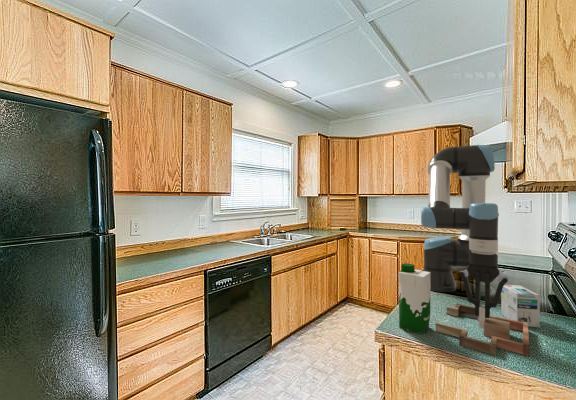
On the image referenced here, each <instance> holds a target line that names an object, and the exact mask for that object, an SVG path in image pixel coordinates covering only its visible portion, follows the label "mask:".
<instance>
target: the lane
mask: <svg viewBox="0 0 576 400" xmlns="http://www.w3.org/2000/svg"><path fill="white" fill-rule="evenodd" d="M454 307H455V306H454ZM454 307H453V306H449V305H447V306H446V315H449V316H454V317H458V308H454ZM489 318H493V319H497V320H502V321H506V322H510V330H511V329H512V330H514V331H519V332H522V342H520V341H514V340H511V339H509V340H507V339H503V338H499V337H495V336H492V338H496V339H497V349H501V350H505V351H509V352H512V353H516V354H520V355H525V356H527V357H528V356H529V357H530V341H529V340H530V338H529V326H528V323H524V322H520V321H515V320H510V319H508V318H507V317H500V316H497V315H491V314H490V317H489ZM477 322H479V316H478V320H477ZM434 330H435V332H436V333H441V334H445V335H449V336H453V337H456V338H459V336H460V334H461V332H462V330H464V331H467V336H468V330H469V329H466V328H462V327H458V326H455V325H454V326H453V325H450V324H446V323H442V322H439V321H436V322H435V329H434Z"/></svg>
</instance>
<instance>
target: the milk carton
mask: <svg viewBox="0 0 576 400" xmlns="http://www.w3.org/2000/svg"><path fill="white" fill-rule="evenodd" d="M400 265H401V266H400V267H401V268H400V270H399V272H398V274H397V275H398V276H397V277H398V327H399V329H403V330H406V331H409V332H414V333H416V334H417V333H418V334H420V335H423V334H425V332H426V330H427V329H428V328H429V327H430V319H431V295H432V294H431V291H432V290H431V283H430V272H426V271H424V270H423V269H422V270H421V269H415V264H412V263H401V264H400Z"/></svg>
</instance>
